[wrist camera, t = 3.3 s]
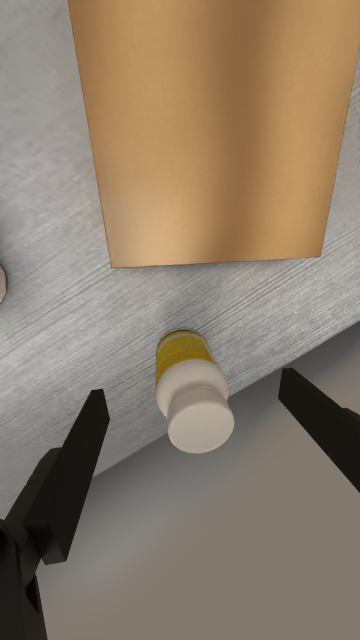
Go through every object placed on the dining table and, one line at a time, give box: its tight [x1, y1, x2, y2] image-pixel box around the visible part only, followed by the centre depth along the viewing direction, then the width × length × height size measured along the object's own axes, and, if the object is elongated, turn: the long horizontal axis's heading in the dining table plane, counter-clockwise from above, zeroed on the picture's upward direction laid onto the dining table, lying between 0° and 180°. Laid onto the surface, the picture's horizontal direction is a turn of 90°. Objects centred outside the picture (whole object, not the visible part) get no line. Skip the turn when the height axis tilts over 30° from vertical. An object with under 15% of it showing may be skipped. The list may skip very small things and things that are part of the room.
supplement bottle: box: [156, 328, 234, 453], centre depth 15 cm, size 5×5×10 cm
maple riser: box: [68, 0, 360, 268], centre depth 12 cm, size 16×18×4 cm
